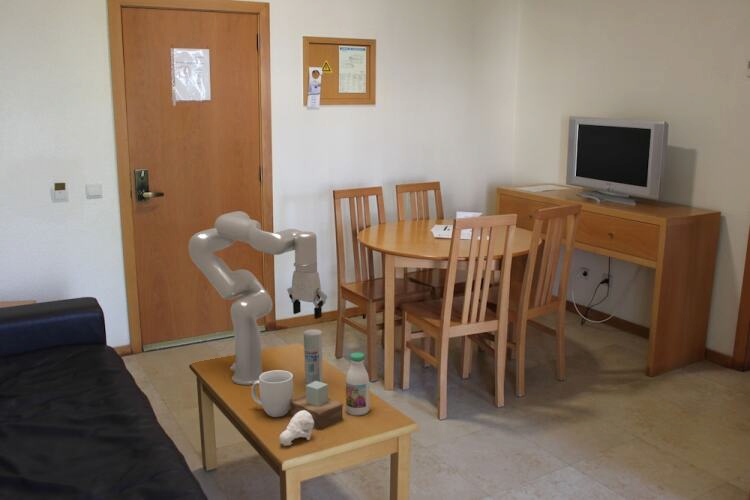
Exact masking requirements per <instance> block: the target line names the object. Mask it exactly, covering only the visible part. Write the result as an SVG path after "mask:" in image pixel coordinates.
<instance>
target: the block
mask: <svg viewBox="0 0 750 500" xmlns="http://www.w3.org/2000/svg"><path fill="white" fill-rule="evenodd" d="M328 386H329V385H328V383H325V382H323V381H322V382H319V381H314V382H312V383H310V384H308V385H306V384H305V395H306V403H308V404H311V405H314V406H317V407H319V406H320V405H322V404H324V403H326V402H328V398H329V390H328V389H329V388H328Z"/></svg>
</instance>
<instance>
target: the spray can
mask: <svg viewBox="0 0 750 500" xmlns="http://www.w3.org/2000/svg"><path fill="white" fill-rule="evenodd" d="M322 333H323V332H322V331H321V330H320V329H315V328H314V329H312V328H311V329H307V330H305V331H303V348H304V349H303V350H304V351H303V352H304V354H303V355H304V380H305V381H304V384H305V386H306V385H308V384H310V383H312V382H314V381H319V382H322V383H323V338H322V337H323V334H322Z"/></svg>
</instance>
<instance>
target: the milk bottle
mask: <svg viewBox="0 0 750 500" xmlns="http://www.w3.org/2000/svg"><path fill="white" fill-rule="evenodd" d="M349 357H350V358H349V359H350V366H349V368H348V371H347V374H346V377H345V378H346V379H345V402H346V403H345V405H346V407H345V410H346V412H347V413H348V414H349V415H352V416H363V415H366V414H368V413H369V411H370V378H369V373H368V371H367V369H366V367H365V364H364V362H365V354H364V353H362V352H353V353H351V354H350V355H349Z"/></svg>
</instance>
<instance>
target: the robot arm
mask: <svg viewBox="0 0 750 500" xmlns="http://www.w3.org/2000/svg"><path fill="white" fill-rule="evenodd" d="M188 241H189V242H188V253H189V257H190V259H191V261H192V263H194V264H195V267H197V268H198V269H199V270H200V271H201V272H202V273H203V275H204V276H205V278H206V279H207V280H208V281H209V283H210V284H211V285H212V286H213V288H214V289H215V291H217V293H218V294H219V295H220V296H221V298H223V299H224V300H230V301H231V300H234V299H236V300H235V301H234V302H232V305H231V307H230V317H231V321H232V325H233V335H234V337H233V338H234V353H235V355H234V356H235V362H233V363H232V365H231V366H230V370H231V371H234V374H233V375H232V376H231V377H232V378H231V379H232V382H233V383H235V384H238V385H242V386H250V385H251V386H253V384H254V383H255V382H256V381H258V380H259V377H260V375H261V374H263V373H265V372H266V371H263V364H262V363H263V362H262V361H263V360H262V340H261V339H262V337H261V335H262V334H261V329H260V327H259V325H258V323H257V320H258V319H260V318H262V317H265V316H267V315H269V314H270V313H271V311H272V309H273V306H274V304H273V300H272V297H271V296H270V294H269V292H267V290H266V289H265V287H264V286H263V284H262V283H261V282H260V281H259V280H258V279H257V277H256V276H255V275H254V274H253V273H252V272H251V271H249V270H247V269H244V268H243V269H242V268H241V269H237V270H232V269H230V267H229V266H228V265H227V263H226V262H225V261H224V260H223V259H222V258H220V257H219V256H217V255H216V254H214V253H215V252H218V251H221V250H224V249H227V248H229V247H230V246H232V245H233V244H235V243H236V242H237V241H238V242H242V243H246V244H249V245H250V246H251V248H253V249H254V250H256V251H258V252H260V253H264V254H268V255H274V256H279V255H282V254H285V253H288V252H292V251H294V262H293V267H294V269H295V270H293V272H292V277H291V287H288V288H287V289H286V291H287V293H288V296H289V298H290V300H291V303H292V313H293V315H296V314H299V313H301V311H302V310H301V308H302V307H301V301H302V302H306V303H313V305H314V307H313V314H314V316H313V319H314V320H318V319H320V318H322V316H323V313H322V312H323V311H322V309H323V307H324V305H325V303H326V301H327V298H328V295H327V294H325V293H324V292H323V291H322V287H321V278H320V274H319V271H318V246H317V241H318V240H317V234H316V233H315V232H313V231H302V230H298V229H295V228H287V229H283V230H281V231H277V232H270V231H266V230H262V225H261V223H260V222H259V221H258V220H255V219H251V217H250V216H249V214H248V213H247V212H244V211H240V210H238V211H237V210H236V211H232V212H228V213H224V214H221V215H220V216H218V217H217V218H216V220H215V223H214V227H213V228H209V229H204V230H201V231H198V232H196V233H195V234H193V235H191V238H189V240H188ZM240 296H241V297H240Z"/></svg>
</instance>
